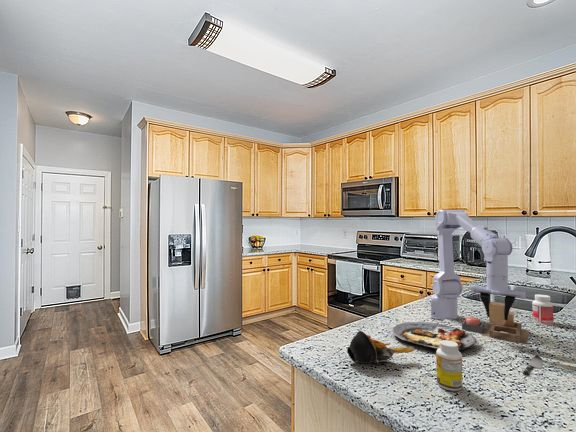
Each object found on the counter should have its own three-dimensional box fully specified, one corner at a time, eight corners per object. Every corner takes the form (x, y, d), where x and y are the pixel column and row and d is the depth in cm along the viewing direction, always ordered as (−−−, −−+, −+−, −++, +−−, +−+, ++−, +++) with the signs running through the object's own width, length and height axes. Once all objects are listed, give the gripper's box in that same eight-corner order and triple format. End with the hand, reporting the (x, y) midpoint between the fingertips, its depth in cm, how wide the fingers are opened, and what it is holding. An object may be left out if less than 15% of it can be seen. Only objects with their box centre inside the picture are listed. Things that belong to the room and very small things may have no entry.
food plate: (483, 338, 104) (483, 328, 104) (465, 362, 87) (464, 350, 87) (409, 323, 121) (408, 314, 122) (381, 341, 104) (381, 331, 104)
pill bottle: (556, 325, 117) (555, 296, 117) (550, 328, 114) (549, 298, 114) (536, 321, 123) (535, 293, 123) (529, 324, 119) (529, 295, 119)
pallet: (482, 338, 105) (482, 328, 105) (488, 325, 117) (488, 317, 117) (527, 347, 97) (527, 337, 97) (528, 332, 110) (528, 323, 110)
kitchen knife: (549, 358, 91) (536, 354, 93) (550, 354, 91) (537, 350, 93) (536, 380, 78) (521, 375, 80) (536, 376, 78) (522, 371, 80)
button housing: (462, 331, 111) (461, 323, 111) (465, 327, 116) (465, 319, 116) (481, 335, 107) (481, 327, 107) (484, 330, 112) (484, 322, 112)
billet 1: (489, 322, 100) (489, 304, 100) (490, 319, 103) (490, 301, 103) (504, 325, 97) (504, 306, 97) (505, 322, 100) (505, 303, 100)
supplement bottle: (440, 377, 79) (439, 337, 79) (464, 385, 75) (464, 342, 75) (433, 386, 75) (433, 343, 75) (459, 395, 71) (459, 349, 71)
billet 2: (499, 329, 110) (499, 312, 110) (500, 326, 113) (500, 310, 113) (513, 332, 108) (513, 314, 108) (514, 329, 111) (514, 312, 111)
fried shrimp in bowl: (338, 339, 92) (387, 314, 97) (355, 378, 89) (405, 350, 94) (348, 339, 83) (402, 311, 89) (368, 381, 80) (422, 350, 86)
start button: (464, 327, 111) (464, 319, 111) (467, 324, 114) (467, 316, 114) (479, 330, 108) (479, 321, 108) (481, 326, 112) (481, 318, 112)
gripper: (469, 274, 102) (469, 316, 102) (524, 280, 93) (525, 326, 93) (472, 271, 107) (473, 311, 107) (525, 276, 98) (526, 320, 98)
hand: (497, 317), depth 100 cm, fingers closed on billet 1, 4 cm apart
